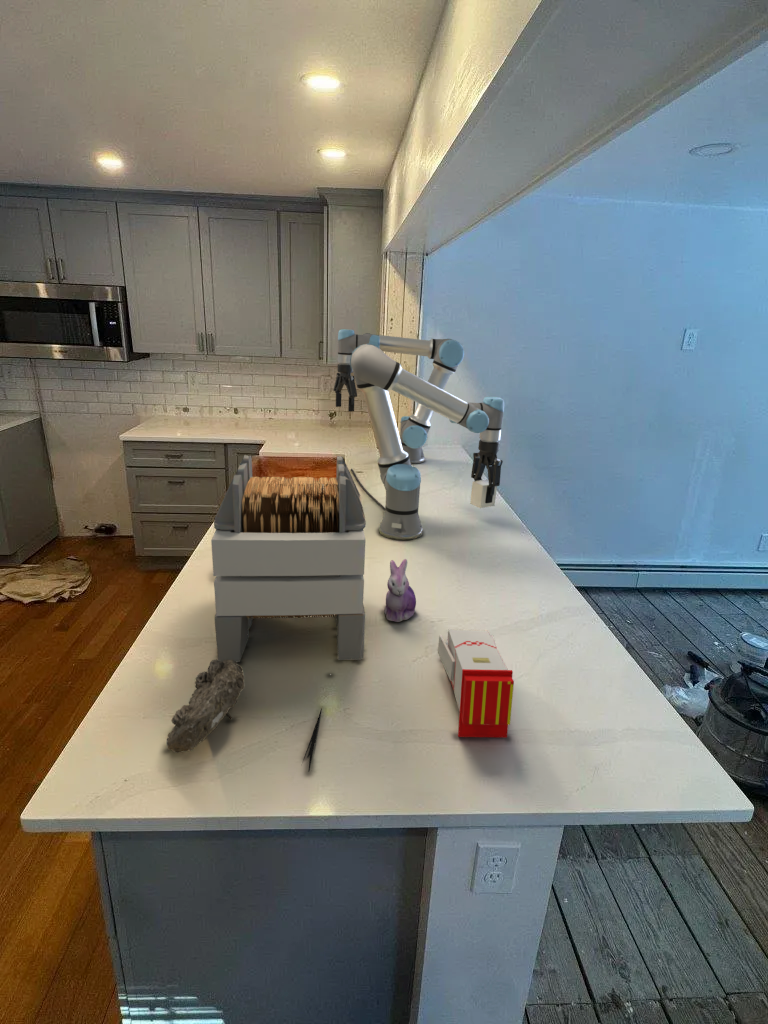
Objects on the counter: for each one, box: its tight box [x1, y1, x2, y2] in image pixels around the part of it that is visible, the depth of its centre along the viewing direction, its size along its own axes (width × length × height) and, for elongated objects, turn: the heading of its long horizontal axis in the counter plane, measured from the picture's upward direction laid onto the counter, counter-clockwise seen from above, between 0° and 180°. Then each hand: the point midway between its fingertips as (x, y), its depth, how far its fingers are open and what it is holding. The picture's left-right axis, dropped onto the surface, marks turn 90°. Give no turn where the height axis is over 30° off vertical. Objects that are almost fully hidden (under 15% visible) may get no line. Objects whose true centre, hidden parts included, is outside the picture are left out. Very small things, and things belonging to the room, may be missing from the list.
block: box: [469, 478, 498, 509], centre depth 214 cm, size 7×6×9 cm
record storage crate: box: [210, 454, 366, 663], centre depth 134 cm, size 34×33×41 cm
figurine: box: [384, 558, 417, 623], centre depth 145 cm, size 9×10×15 cm
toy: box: [437, 628, 515, 738], centre depth 117 cm, size 12×13×30 cm
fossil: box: [166, 659, 245, 754], centre depth 106 cm, size 22×10×15 cm
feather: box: [301, 673, 332, 771], centre depth 108 cm, size 2×28×2 cm
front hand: (482, 500), depth 215 cm, fingers closed on block, 6 cm apart
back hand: (344, 409), depth 274 cm, fingers open, 13 cm apart
